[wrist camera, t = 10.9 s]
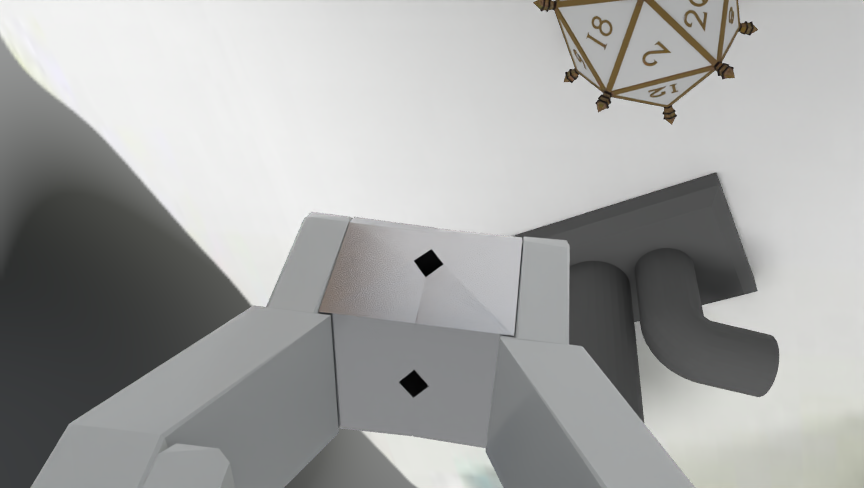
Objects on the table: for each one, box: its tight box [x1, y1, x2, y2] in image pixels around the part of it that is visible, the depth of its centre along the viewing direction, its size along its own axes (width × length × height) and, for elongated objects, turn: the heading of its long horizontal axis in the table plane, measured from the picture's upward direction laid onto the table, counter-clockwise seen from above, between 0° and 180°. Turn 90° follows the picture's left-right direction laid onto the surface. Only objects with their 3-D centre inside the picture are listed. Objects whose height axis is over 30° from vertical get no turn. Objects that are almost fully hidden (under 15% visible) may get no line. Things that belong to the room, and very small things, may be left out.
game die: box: [533, 0, 758, 124], centre depth 33 cm, size 9×8×10 cm
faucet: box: [513, 173, 779, 423], centre depth 43 cm, size 18×16×20 cm
